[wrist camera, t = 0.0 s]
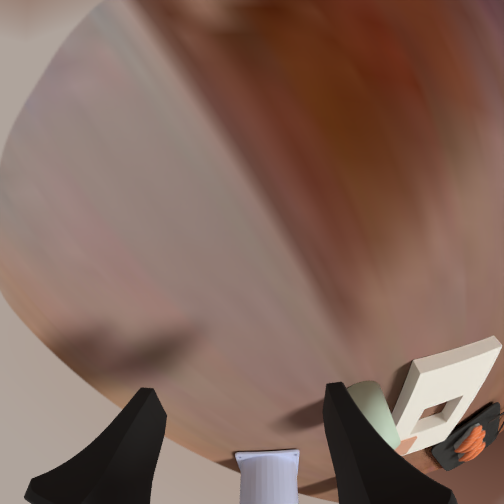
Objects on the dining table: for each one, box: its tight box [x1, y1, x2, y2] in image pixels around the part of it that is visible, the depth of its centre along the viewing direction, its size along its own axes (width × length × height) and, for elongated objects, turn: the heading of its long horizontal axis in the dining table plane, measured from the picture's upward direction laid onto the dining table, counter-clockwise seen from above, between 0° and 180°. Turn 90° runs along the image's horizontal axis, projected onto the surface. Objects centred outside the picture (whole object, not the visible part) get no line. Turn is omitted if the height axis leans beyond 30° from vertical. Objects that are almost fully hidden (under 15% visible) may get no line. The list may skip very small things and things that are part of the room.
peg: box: [347, 381, 401, 450], centre depth 22 cm, size 4×4×7 cm
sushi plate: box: [431, 402, 504, 471], centre depth 31 cm, size 29×30×4 cm
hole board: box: [391, 336, 502, 456], centre depth 26 cm, size 20×12×2 cm, turn 5°
